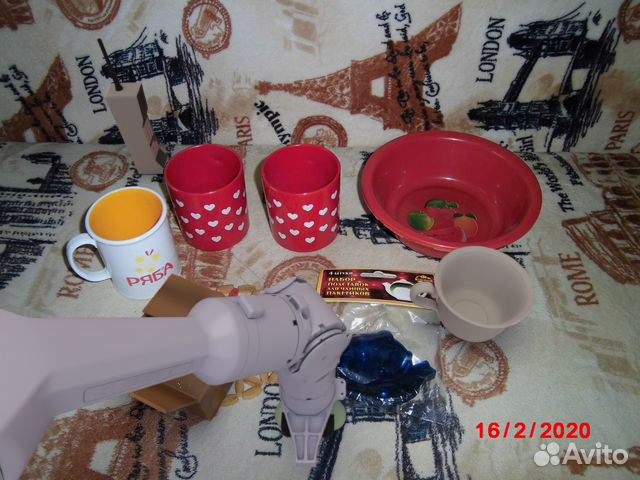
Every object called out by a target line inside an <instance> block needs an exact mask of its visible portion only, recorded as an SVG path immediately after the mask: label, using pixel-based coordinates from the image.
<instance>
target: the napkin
mask: <svg viewBox="0 0 640 480" xmlns="http://www.w3.org/2000/svg"><path fill="white" fill-rule="evenodd" d="M275 407H276V408H275V410H274V419H275V422H276V424H277V425H278V427H280V428H281V416H282V412H284V410H283V406H282V403H281V401H280V402H279V403H278V404H277V405H276V406H275ZM330 414H334V431H337V430H339V429H341V428H342V427H343V426H344V425H345V422H346V419H347V410H346V408H345V406H344V404H343V403H342V402H341V400H336V401H335V402H334V405H333V407H332V410H331V413H330Z"/></svg>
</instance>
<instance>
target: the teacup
mask: <svg viewBox="0 0 640 480" xmlns="http://www.w3.org/2000/svg"><path fill="white" fill-rule="evenodd" d="M434 285H435V286H434ZM422 294H430V297H431V298H432V299H431V298H428V297H425V296H420V295H422ZM535 296H536V292H535V287H534V284H533V281H532V279H531V277H530V275H529V274H528V272H527V271H526V269H525V268H524V267H523V266H522V265H521V264H520V263H519V261H517V260H515V258H512V257H511V255H508V254H506V253H504V252H502V251H500V250H498V249H494V248H492V247H487V246H482V245H468V246H467V245H466V246H462V247H459V248H456V249H454V250H451V251H450V252H448V253H447V254H446V255H444V256H443V257H442V258H441V260H440V261H439V262H438V264H437V266H436V269H435V273H434V284H433V283H432V282H430V281H419V282H417V283H415V284H413V285H412V286H411V288H410V290H409V299H410V301H411V302H412V304H414V305H415V306H417V307H420V308H423V309H429V310H432V311H434V312H436V313H437V314H438V317H439V320H440V322H441V324H442V325H443V327H444V328H445V330H447V331H448V332H449V333H450V334H452V335H453V336H454V337H457V338H458V339H460V340H463V341H466V342H471V343H482V342H487V341H489V340H493V338H496V337H497V336H499V335H500V334H502V332H504V331H505V330H506V329H507V328H509V327H511V326H514V325H517V324H518V323H521V322H522V321H523V320H525V318H527V316H528V315H530V313H531V311H532V310H533V308H534V304H535ZM433 299H436V301H435V300H433Z"/></svg>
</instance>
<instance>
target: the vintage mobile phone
mask: <svg viewBox="0 0 640 480" xmlns="http://www.w3.org/2000/svg"><path fill="white" fill-rule="evenodd" d="M96 41H97V44H98V46H99V48H100V51H101V53H102V55H103V58H104V60H105V63H106V65H107V69H108V73H109V74H110V76H111V80H112V81H113V82H112V83H111V84H110V86H109V88H108V91H107V93H106V95H105V101H106V103H107V106H108V108H109V110H110V113H111V115H112V118H113V119H114V122H115V123H116V126H117V128H118V131H119V133H120V135H121V137H122V140H123V142H124V144H125V147H126V148H127V151H128V153H129V155H130V157H131V160H132V161H133V165H134V166H135V168H136V171H137V173H138V175H164V174H163V169H164V167H165V165H166V163H167V162H168V161H169V162H170V158H169V155H168V154H167V153H166V152H165V151H164V150H162V148H161V146H160V144H159V141H158V139H157V136H156V133H155V131H154V128H153V125H152V123H151V121H150V117H149V115H148V110H149V105H148V101H147V98H146V95H145V94H146V93H145V90H144V86H143V82H121V81H120V79H119V77H118V75H117V72H116V70H115V68H114V66H113V64H112V62H111V59H110V57H109V54H108V52H107V49H106V47H105V45H104V42H103V40H102V38H101V37H98V38H96Z"/></svg>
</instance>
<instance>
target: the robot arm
mask: <svg viewBox="0 0 640 480" xmlns="http://www.w3.org/2000/svg"><path fill="white" fill-rule="evenodd" d="M353 334H354V333H353V332H351V333H350V332H349V330H348V329H347V325H346V323H345V322H344V321H343V320H342V319H341V318H340V316H339V315H338V314H337V313H336V312H335V311H334V310H333V308H332V307H331V306H330V304H329V303H328V302H327V301H326V300H325V298H323V297H322V295H321V294H320V293H319V292H318V290H316V288H315V287H314V286H313V285H312V284H311V283H309V282H308V281H307V279H305V278H303V277H299V276H296V275H295V276H291V277H288V278H286V279H284V280H282V281H279V282H278V283H276V284H275V285H273V286H270V287H265V288H264V289H261V290H260V291H258V293H257V294H243V295H236V296H235V295H234V296H233V295H232V296H228V297H215V298H206V299H203V300H201V301H200V302H198V303H197V304H196V305H195V306H194V307H193V308H192V310H191V311H190V313H189V314H188V316H187V317H142V316H141V317H139V316H136V317H135V316H133V317H132V316H131V317H130V316H129V317H127V316H125V317H121V316H120V317H30V316H25V315H21V314H18V313H16V312H12V311H9V310H6V309H3V308H0V474H1V477H2V480H19V479H20V477H21V476H22V475H23V472H24V471H25V469H26V467H27V466H28V464H29V462H30V460H31V459H32V457H33V455H34V454H35V452H36V450H37V449H38V447H39V445H40V443H41V442H42V440H43V438H44V437H45V435H46V433H47V432H48V431H49V428H50V427H51V425H52V423H53V422H54V420H55V418H56V417H57V416H60V415H62V414H66V413H70V412H73V411H76V410H79V409H83V408H86V407H89V406H91V405H94V404H98V403H101V402H104V401H107V400H110V399H113V398H117V397H121V396H123V395H128V394H127V393H130V392H133V391H136V390H140V389H143V388H146V387H149V386H152V385H156V384H159V383H162V382H165V381H168V380H172V379H175V378H178V377H181V376H184V375H188V374H191V373H194V375H195V376H196V377H197V378H198V379H200V380H201V381H202V382H204V383H206V384H209V385H221V384H224V383H229V382H233V381H234V382H236V381H240V380H245V379H248V378H253V377H257V376H261V375H265V374H268V373H272V372H273V373H274V372H276V373H275V374H276V377H277V382H278V395H279V399H280V402H281V403H282V406H283V410H284V412H282V416H281V427H280V432H281V433H282V436H283V437H285V438H290V439H291V440H292V443H293V447H294V448H293V449H294V463H295V467H296V468H317V458H318V457H317V456H318V451H319V450H318V449H319V447H320V444H321V440H322V439H328V438H331V437H333V435H334V432H335V430H334V414H330V413H331V410H332V407H333V405H334V402H335V401H336V400H338V401H343V400H345V399H346V396H347V382H346V380H345V379H344V378H338V377H336V368H337V367H338V365H339V364H340V362H341V361H340V360H341V356H342V354H343V353H344V351H345V350H346V349H347V348H348V346H349V344H350V343H351V341H352V338H353V336H354V335H353Z"/></svg>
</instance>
